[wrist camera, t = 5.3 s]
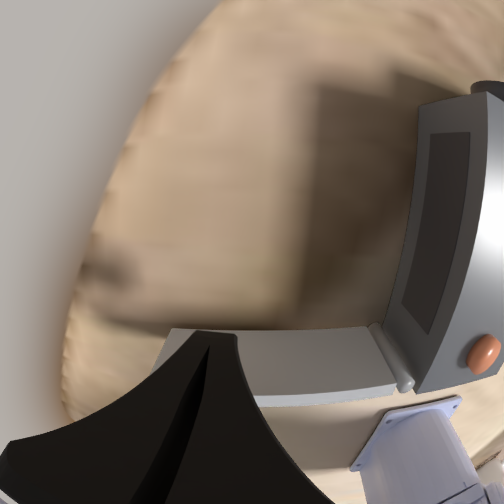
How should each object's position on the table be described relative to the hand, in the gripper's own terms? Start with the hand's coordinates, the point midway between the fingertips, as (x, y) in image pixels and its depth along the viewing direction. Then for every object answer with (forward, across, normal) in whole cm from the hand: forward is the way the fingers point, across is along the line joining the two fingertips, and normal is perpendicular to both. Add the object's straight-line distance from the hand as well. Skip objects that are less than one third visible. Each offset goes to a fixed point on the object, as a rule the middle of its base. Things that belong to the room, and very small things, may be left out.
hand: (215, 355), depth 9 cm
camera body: (+5, -11, -4) cm, 13 cm away
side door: (+5, -3, +2) cm, 6 cm away
